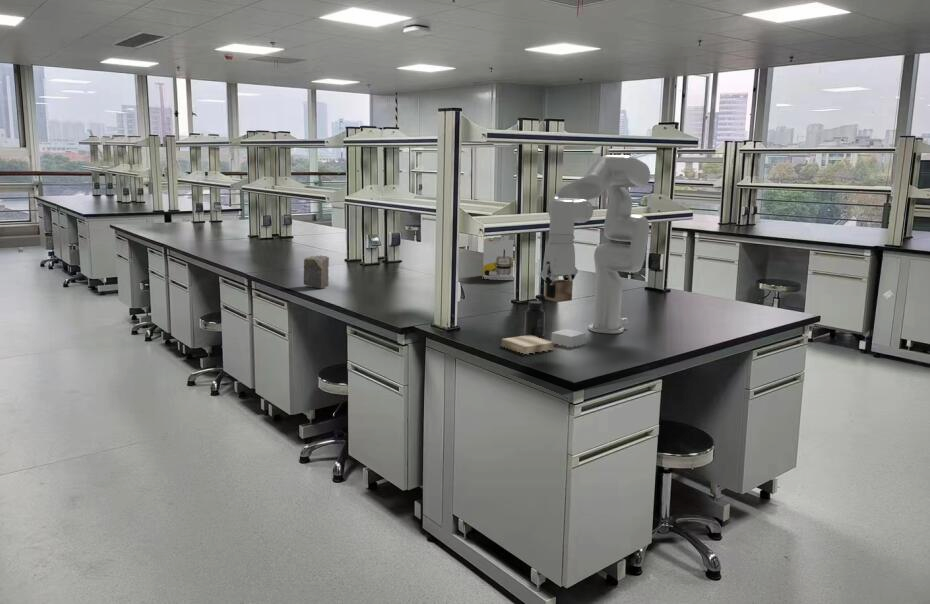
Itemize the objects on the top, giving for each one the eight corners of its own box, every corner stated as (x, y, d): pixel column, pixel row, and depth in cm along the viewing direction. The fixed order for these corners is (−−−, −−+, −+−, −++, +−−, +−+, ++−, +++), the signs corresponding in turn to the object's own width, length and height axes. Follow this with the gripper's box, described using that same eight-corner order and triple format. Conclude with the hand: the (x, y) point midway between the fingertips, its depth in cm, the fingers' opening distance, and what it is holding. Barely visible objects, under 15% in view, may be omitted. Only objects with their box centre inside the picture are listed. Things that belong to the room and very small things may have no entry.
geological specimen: (303, 287, 331) (302, 255, 328) (312, 285, 336) (311, 254, 333) (321, 289, 326) (320, 257, 323) (329, 287, 331) (329, 256, 328)
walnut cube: (558, 297, 227) (559, 278, 226) (571, 300, 222) (572, 281, 221) (544, 298, 224) (545, 280, 222) (557, 302, 219) (558, 283, 218)
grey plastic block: (565, 340, 241) (565, 328, 240) (584, 344, 235) (585, 333, 235) (551, 344, 235) (551, 332, 234) (570, 348, 230) (571, 336, 229)
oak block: (529, 343, 236) (530, 334, 235) (553, 351, 226) (554, 342, 226) (501, 347, 229) (501, 338, 229) (524, 356, 220) (525, 347, 219)
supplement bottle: (542, 333, 248) (544, 300, 246) (545, 338, 241) (546, 304, 239) (523, 333, 248) (524, 300, 246) (525, 338, 241) (526, 303, 239)
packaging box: (482, 280, 365) (483, 231, 361) (482, 275, 381) (484, 229, 377) (513, 280, 365) (515, 232, 360) (513, 276, 381) (514, 230, 376)
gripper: (572, 237, 228) (569, 292, 231) (532, 239, 217) (529, 296, 221) (589, 239, 222) (586, 296, 225) (549, 241, 211) (546, 300, 215)
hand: (558, 295), depth 223 cm, fingers closed on walnut cube, 6 cm apart
